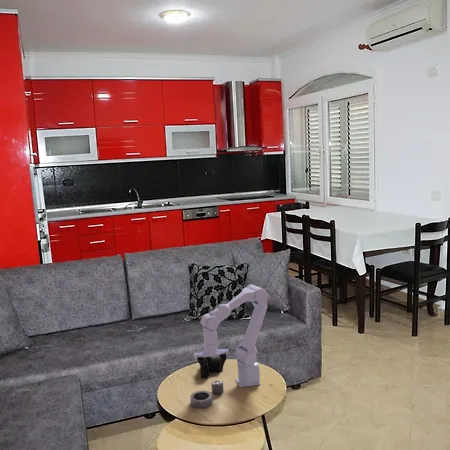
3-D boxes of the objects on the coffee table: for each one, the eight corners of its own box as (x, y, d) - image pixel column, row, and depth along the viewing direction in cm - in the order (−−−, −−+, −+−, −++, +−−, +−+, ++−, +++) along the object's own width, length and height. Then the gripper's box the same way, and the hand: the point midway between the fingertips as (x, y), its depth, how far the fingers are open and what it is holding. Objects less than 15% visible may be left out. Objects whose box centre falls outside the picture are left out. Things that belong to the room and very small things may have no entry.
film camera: (220, 379, 214) (219, 360, 212) (199, 380, 214) (198, 361, 213) (221, 364, 229) (220, 347, 227) (201, 365, 229) (200, 348, 228)
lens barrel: (210, 396, 199) (210, 389, 198) (214, 406, 190) (213, 399, 189) (189, 399, 197) (189, 392, 197) (192, 409, 188) (191, 403, 188)
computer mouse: (222, 388, 205) (221, 379, 204) (224, 394, 200) (224, 384, 199) (211, 390, 204) (210, 380, 203) (213, 395, 199) (212, 386, 198)
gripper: (225, 336, 203) (227, 366, 205) (192, 340, 200) (194, 370, 202) (228, 342, 196) (230, 373, 198) (194, 347, 193) (196, 377, 195)
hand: (212, 372), depth 200 cm, fingers open, 7 cm apart
